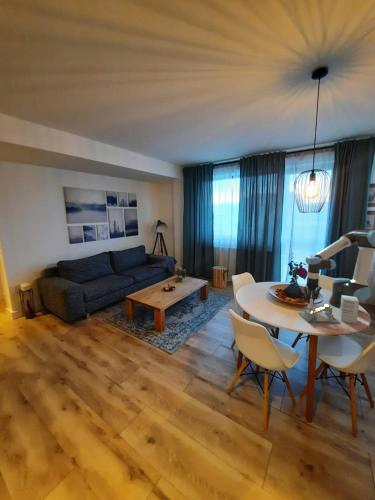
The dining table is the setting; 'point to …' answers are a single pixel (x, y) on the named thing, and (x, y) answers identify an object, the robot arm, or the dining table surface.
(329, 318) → the base plate
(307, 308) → the strap
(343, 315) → the supplement box
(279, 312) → the dining table surface
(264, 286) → the dining table surface
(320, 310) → the strap
